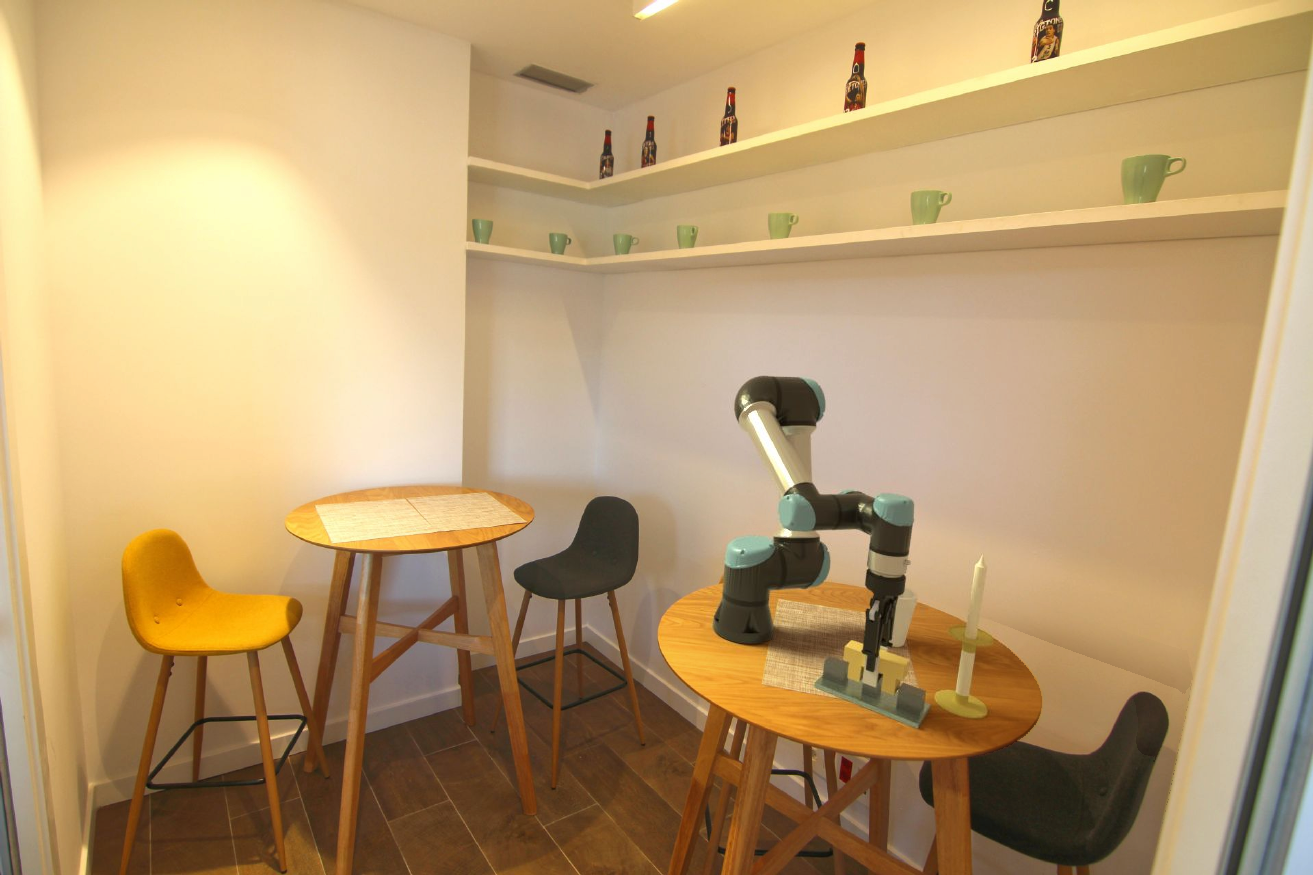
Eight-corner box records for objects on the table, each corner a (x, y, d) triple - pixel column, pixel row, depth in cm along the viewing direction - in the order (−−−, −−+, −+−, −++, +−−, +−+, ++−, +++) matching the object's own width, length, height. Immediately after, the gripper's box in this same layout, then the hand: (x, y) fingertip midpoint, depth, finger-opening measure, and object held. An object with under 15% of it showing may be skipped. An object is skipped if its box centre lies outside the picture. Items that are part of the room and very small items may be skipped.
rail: (814, 686, 130) (816, 664, 130) (830, 670, 137) (832, 649, 137) (917, 728, 118) (920, 704, 117) (929, 708, 125) (932, 685, 124)
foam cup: (914, 652, 149) (920, 601, 147) (874, 646, 151) (880, 596, 149) (906, 635, 158) (912, 587, 156) (868, 629, 160) (874, 582, 158)
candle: (963, 722, 121) (987, 564, 116) (923, 695, 130) (944, 547, 125) (999, 713, 125) (1023, 560, 120) (957, 687, 134) (978, 544, 129)
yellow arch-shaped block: (841, 675, 129) (844, 646, 128) (848, 668, 132) (851, 639, 131) (900, 697, 122) (904, 666, 121) (906, 689, 125) (909, 659, 124)
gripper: (892, 587, 115) (878, 704, 118) (917, 565, 128) (904, 670, 131) (852, 576, 119) (840, 689, 122) (881, 556, 133) (869, 658, 136)
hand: (873, 679), depth 127 cm, fingers closed on yellow arch-shaped block, 4 cm apart
